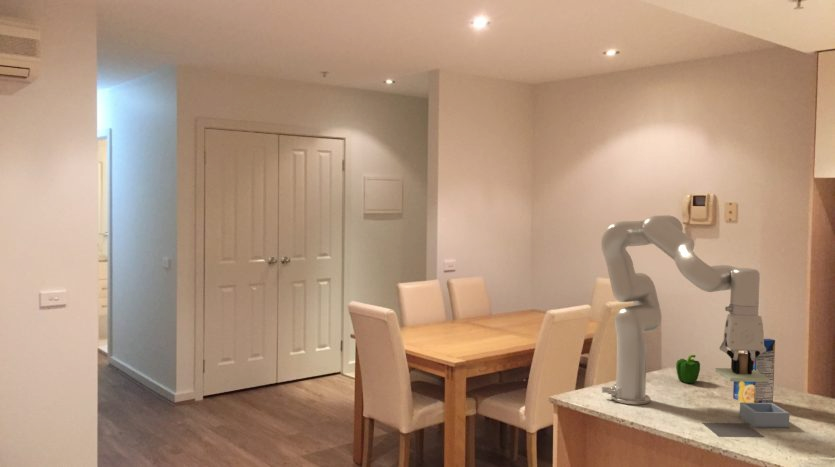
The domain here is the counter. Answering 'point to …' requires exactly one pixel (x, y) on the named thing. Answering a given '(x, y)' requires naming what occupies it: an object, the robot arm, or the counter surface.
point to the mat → (732, 430)
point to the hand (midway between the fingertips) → (741, 372)
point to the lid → (742, 372)
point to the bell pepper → (688, 369)
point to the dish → (764, 415)
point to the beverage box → (758, 390)
